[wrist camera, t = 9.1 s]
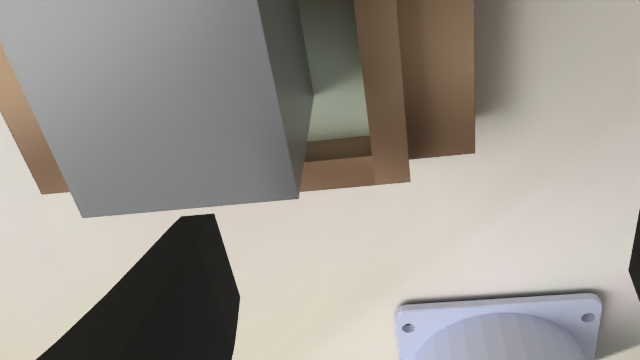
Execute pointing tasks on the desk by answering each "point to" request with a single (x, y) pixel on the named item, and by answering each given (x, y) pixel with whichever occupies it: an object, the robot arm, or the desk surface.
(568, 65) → the desk surface
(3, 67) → the stand
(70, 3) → the housing
